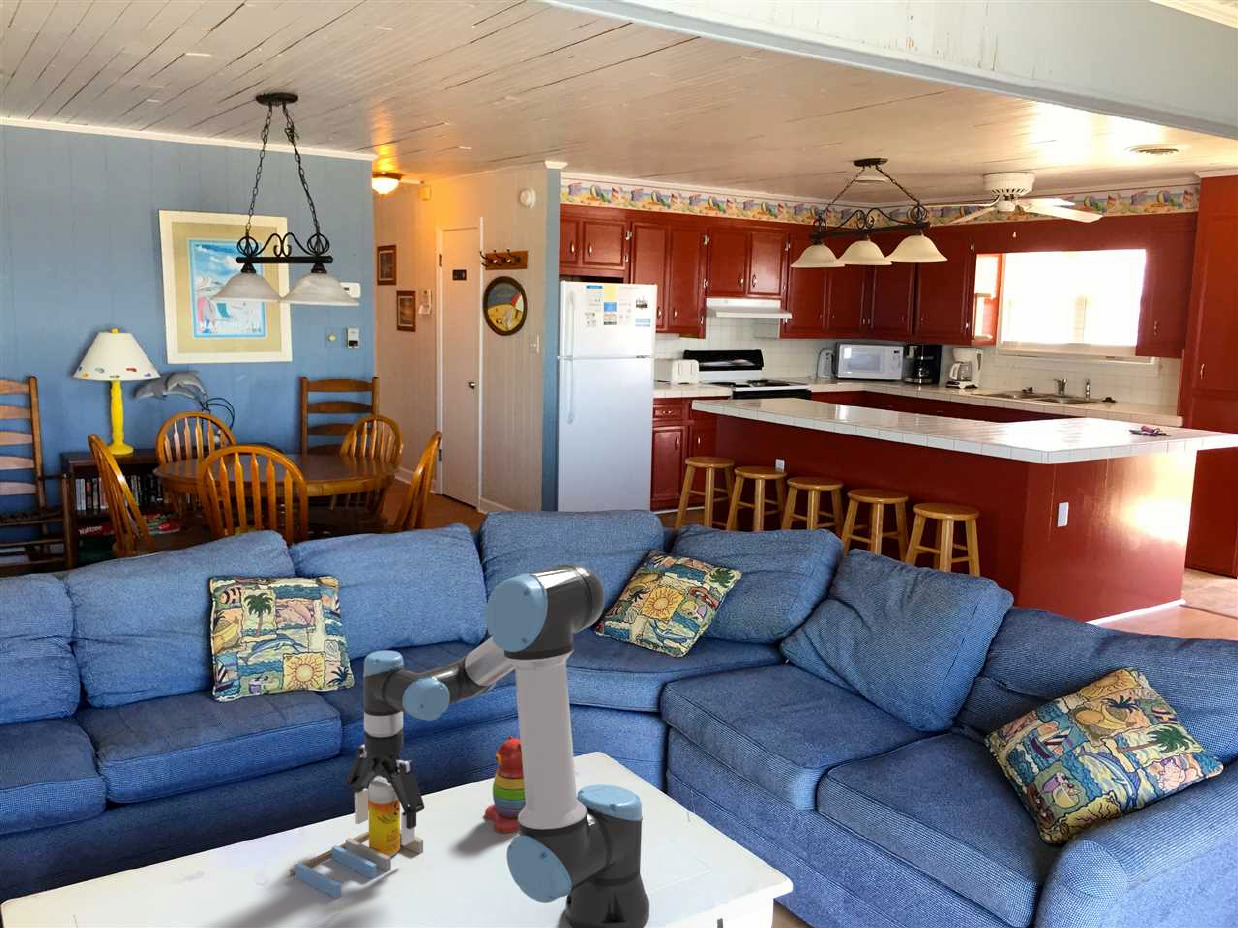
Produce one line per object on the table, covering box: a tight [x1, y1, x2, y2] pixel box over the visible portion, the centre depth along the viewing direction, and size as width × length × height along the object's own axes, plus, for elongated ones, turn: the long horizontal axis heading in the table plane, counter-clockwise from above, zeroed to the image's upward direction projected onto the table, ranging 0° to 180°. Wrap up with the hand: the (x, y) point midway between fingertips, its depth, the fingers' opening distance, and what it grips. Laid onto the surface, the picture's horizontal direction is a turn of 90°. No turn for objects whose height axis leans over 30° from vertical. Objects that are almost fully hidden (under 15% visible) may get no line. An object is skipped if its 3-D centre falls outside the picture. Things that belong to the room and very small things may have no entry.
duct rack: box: [290, 829, 424, 900], centre depth 197 cm, size 14×22×2 cm, turn 144°
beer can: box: [367, 775, 401, 858], centre depth 201 cm, size 6×6×15 cm
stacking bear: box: [484, 735, 526, 834], centre depth 215 cm, size 11×10×18 cm
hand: (384, 831), depth 201 cm, fingers open, 13 cm apart
